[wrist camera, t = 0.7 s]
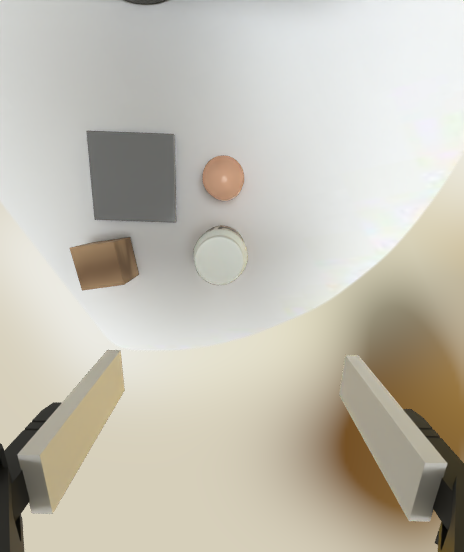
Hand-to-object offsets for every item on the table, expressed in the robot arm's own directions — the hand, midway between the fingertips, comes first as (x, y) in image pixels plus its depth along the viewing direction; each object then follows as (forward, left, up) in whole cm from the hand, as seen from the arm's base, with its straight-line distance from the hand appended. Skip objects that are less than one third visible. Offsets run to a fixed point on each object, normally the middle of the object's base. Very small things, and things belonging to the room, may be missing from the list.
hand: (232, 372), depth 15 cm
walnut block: (-3, -15, -21) cm, 26 cm away
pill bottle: (-4, -1, -21) cm, 21 cm away
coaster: (-13, -12, -20) cm, 27 cm away
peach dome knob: (-13, -1, -21) cm, 24 cm away
